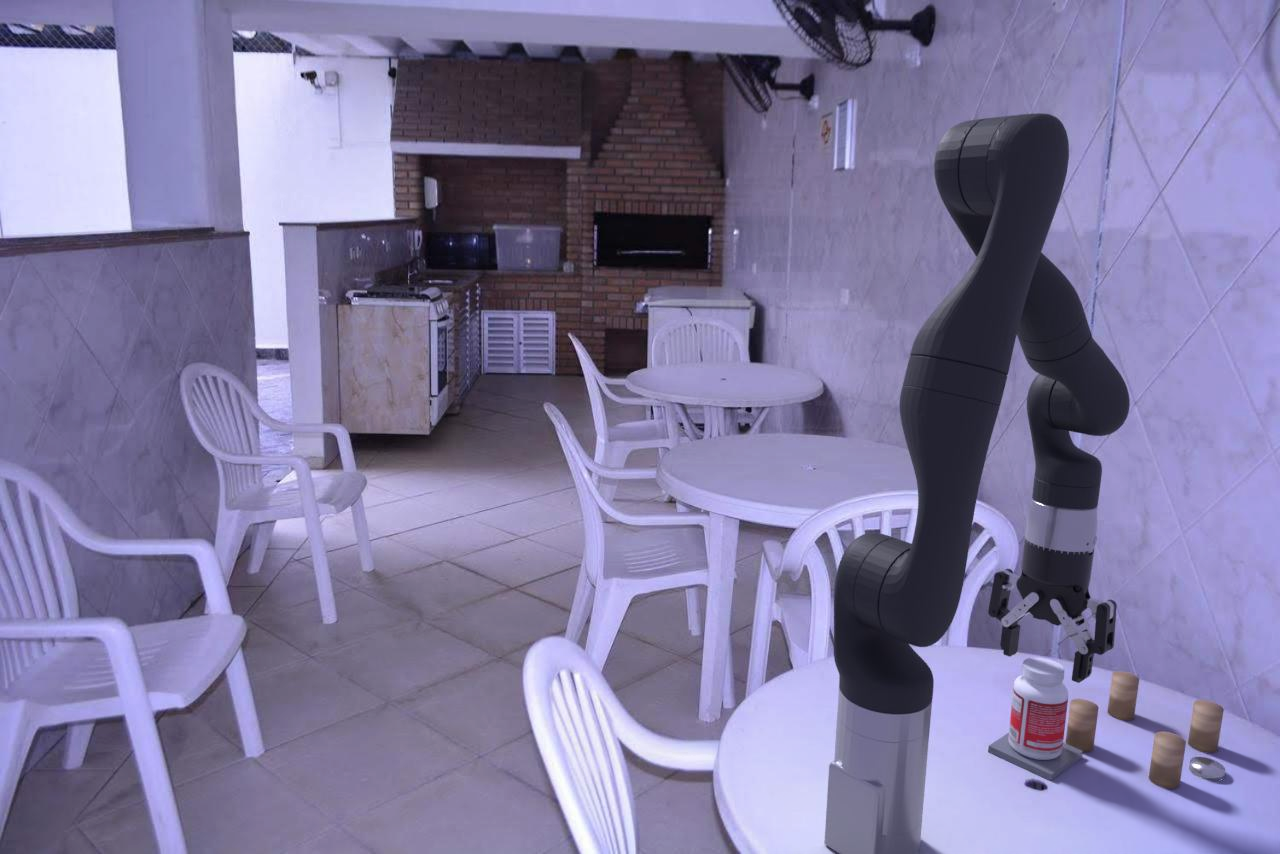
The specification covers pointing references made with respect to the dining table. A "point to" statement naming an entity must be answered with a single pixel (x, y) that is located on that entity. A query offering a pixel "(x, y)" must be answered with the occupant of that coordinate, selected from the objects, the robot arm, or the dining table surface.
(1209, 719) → the cylinder
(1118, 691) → the cylinder
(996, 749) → the slate coaster
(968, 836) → the dining table surface
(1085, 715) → the cylinder
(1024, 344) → the robot arm
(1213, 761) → the shiny metal disc
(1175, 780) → the cylinder
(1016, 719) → the pill bottle
